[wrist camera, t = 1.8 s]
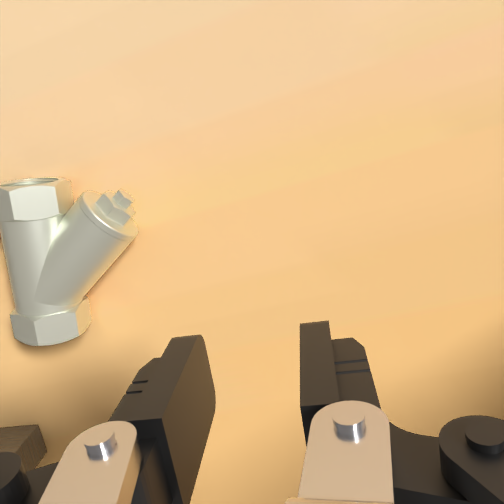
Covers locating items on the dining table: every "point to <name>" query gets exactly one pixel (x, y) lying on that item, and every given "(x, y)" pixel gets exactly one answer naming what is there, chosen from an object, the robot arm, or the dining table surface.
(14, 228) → the pipe fitting
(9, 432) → the stop bracket
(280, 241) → the dining table surface
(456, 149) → the dining table surface
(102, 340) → the dining table surface
